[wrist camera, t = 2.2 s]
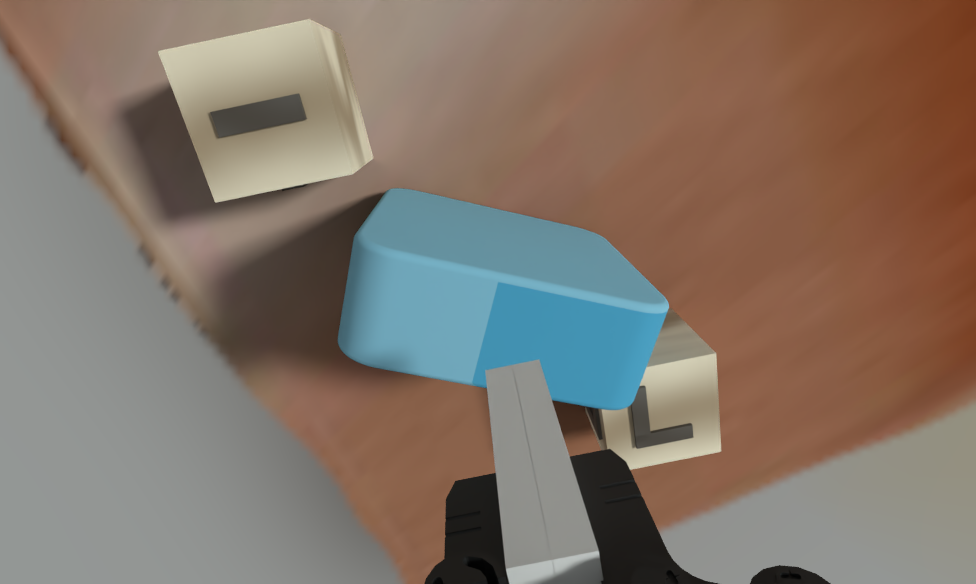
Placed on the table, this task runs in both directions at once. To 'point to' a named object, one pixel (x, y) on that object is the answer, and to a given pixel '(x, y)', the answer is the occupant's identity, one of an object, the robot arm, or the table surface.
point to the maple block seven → (667, 403)
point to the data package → (497, 299)
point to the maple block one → (269, 108)
